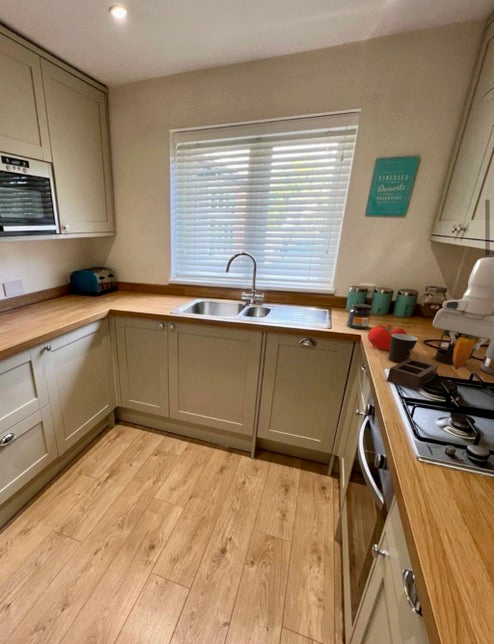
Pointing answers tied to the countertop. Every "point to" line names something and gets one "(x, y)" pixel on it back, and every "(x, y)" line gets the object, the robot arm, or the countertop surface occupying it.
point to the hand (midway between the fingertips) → (463, 347)
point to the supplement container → (359, 316)
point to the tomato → (383, 336)
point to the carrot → (462, 350)
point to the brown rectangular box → (412, 374)
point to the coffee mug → (401, 347)
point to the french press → (449, 349)
